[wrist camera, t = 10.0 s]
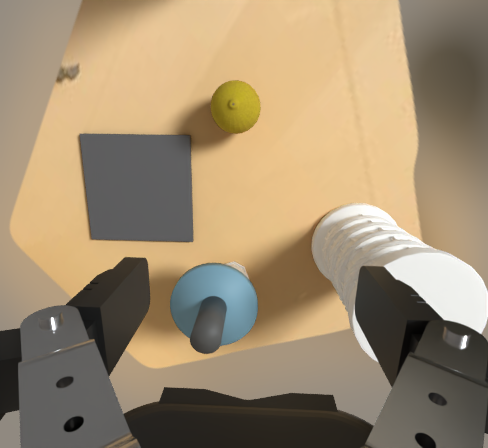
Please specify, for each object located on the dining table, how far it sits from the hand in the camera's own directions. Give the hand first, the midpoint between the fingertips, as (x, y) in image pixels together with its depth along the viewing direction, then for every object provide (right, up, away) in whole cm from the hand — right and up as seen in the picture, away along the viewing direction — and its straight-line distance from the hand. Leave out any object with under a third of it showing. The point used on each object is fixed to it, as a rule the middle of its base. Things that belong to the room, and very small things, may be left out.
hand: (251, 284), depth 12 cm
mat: (-14, +7, +30) cm, 34 cm away
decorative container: (+15, 0, +31) cm, 35 cm away
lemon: (-1, +16, +27) cm, 32 cm away
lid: (-4, -7, +25) cm, 26 cm away
